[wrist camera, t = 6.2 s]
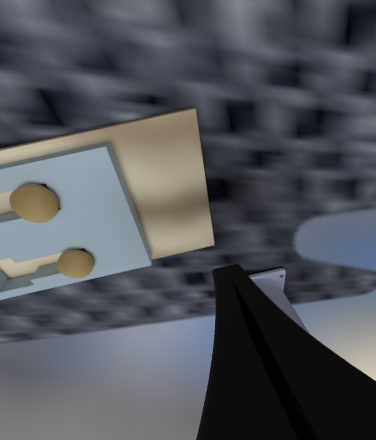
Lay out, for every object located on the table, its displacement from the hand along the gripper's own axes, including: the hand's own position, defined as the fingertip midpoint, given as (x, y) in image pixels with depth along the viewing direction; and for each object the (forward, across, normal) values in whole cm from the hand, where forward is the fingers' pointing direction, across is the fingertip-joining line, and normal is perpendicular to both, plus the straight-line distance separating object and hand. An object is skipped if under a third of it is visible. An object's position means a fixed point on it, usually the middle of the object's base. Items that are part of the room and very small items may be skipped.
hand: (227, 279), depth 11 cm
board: (+9, +9, -1) cm, 13 cm away
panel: (+8, +12, -1) cm, 15 cm away
